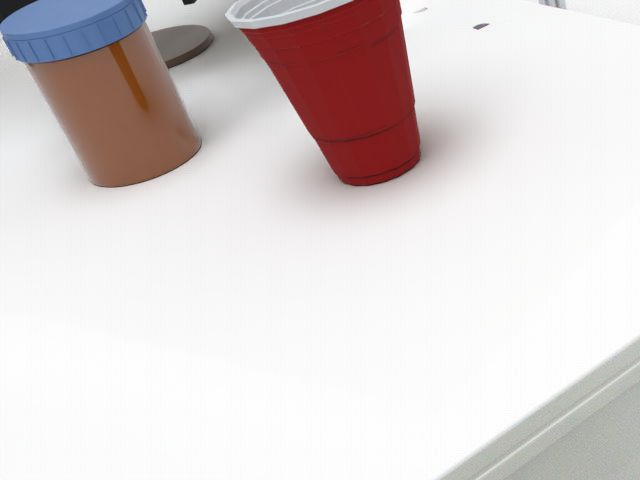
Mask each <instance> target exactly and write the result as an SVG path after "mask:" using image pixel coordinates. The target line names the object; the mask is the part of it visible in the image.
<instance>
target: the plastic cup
mask: <svg viewBox="0 0 640 480" xmlns="http://www.w3.org/2000/svg"><path fill="white" fill-rule="evenodd" d="M402 14H403V10H402V5H401V0H237V1H235V2H234V3H232V4H231V5H230V7H229V8H228V10H227V11H226V12H225V13H224V16H225V18H226V19H227V20H228V22H229V23H230V24H231V25H232V26H233V27H234V28H235V29H239V31H241V33H242V34H244V36H245V37H246V39H247V40H248V42H249V43H251V45H252V46H253V47H254V48H255V49H256V51H257V53H258V55H259V56H260V57H261V58H262V60H263V61H264V62H265V63H266V65H267V66H268V68H269V69H270V72H271V73H272V75H273V76H274V78H275V79H276V81H277V83H278V84H279V86H280V87H281V88H280V89H282V91H283V92H284V94H285V96H286V97H287V99H288V101H289V102H290V104H291V106H292V107H293V109H294V111H295V112H296V114H297V116H298V117H299V119H300V120H301V122H302V124H303V126H304V127H305V129H306V130H307V132H308V134H309V135H310V136H311V137H312V139H313V140H314V141H315V143H316V145H317V146H318V148H319V150H320V152H321V153H322V155H323V156H324V159H325V160H326V162H327V164H328V166H329V167H330V169H331V170H332V172H334V173H335V175H336V176H337V177H338V179H339V180H340V181H341V183H344V184H347V185H350V186H368V185H374V184H375V185H376V184H379V183H384V182H386V181H389V180H392V179H393V178H394V179H395V178H397V177H399V176H401V175H403V174H404V173H406V172H408V171H409V170H411V169H412V168H413V167H414V166H415V165H416V164H417V163H418V162H419V161H420V159H421V137H420V130H419V125H418V124H419V123H418V119H417V112H416V106H415V105H416V97H415V91H414V85H413V78H412V73H411V72H412V71H411V66H410V59H409V54H408V49H407V43H406V37H405V31H404V24H403V18H402Z"/></svg>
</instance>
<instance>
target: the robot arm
mask: <svg viewBox="0 0 640 480" xmlns="http://www.w3.org/2000/svg"><path fill="white" fill-rule="evenodd" d="M36 1H38V0H0V24H1V23H2V22H3V21H4V20H5V19H6V18H7V17H8V16H10V15H11V14H13V13H14V12H16V11H18V10H19V9H21V8H23V7H25V6H27V5H29V4H31V3H34V2H36ZM197 1H198V0H181V2H182V4H183V6H188V5H193V4H195V3H196V2H197Z"/></svg>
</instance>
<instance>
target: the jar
mask: <svg viewBox="0 0 640 480" xmlns="http://www.w3.org/2000/svg"><path fill="white" fill-rule="evenodd" d="M151 32H152V31H151V29H150V28H149V26H148V23H147V20H145V22H144V23H143V24H142V25H141V26H140V27H139V28H137V29H136V30H135V31H133V32H132V33H130V34H129V35H127V36H125V37H123V38H121V39H119V40H117V41H115V42H113V43H111V44H109V45H106V46H104V47H101V48H99V49H96V50H93V51H91V52H87V53H84V54H81V55H78V56H74V57H70V58H66V59H62V60H57V61H51V62H43V63H24V62H22V63H23V64H24V66H25V68H26V70H27V71H28V73H29V75H30V77H31V79H32V80H33V83H34V84H35V86H36V88H37V89H38V91H39V93H40V95H41V97H42V98H43V101H44V102H45V104H46V106H47V108H48V110H49V111H50V113H51V115H52V116H53V118H54V120H55V122H56V123H57V126H58V127H59V129H60V131H61V133H62V134H63V136H64V138H65V140H66V142H67V143H68V145H69V147H70V149H71V150H72V152H73V155H74V156H75V158H76V159H77V161H78V163H79V165H80V166H81V168H82V171H83V172H84V173H85V175H86V177H87V179H88V180H89V182H90V183H91V184H93V185H95V186H98V187H104V188H116V187H125V186H131V185H134V184H139V183H142V182H145V181H149V180H151V179H154V178H158V177H159V176H162V175H164V174H167V173H169V172H170V171H173V170H175V169H176V168H178V167H180V166H181V165H184V164H185V163H186V162H187V161H189V160H190V159H191V158H193V157H194V155H196V153H198V151H199V150H200V149H201V146H202V137H201V135H200V134H199V132H198V130H197V127H196V125H195V123H194V120H193V119H192V116H191V115H190V113H189V110H188V108H187V106H186V104H185V102H184V100H183V98H182V95H181V94H180V91H179V89H178V88H177V85H176V83H175V81H174V78H173V76H172V75H171V72H170V70H169V68H167V66H166V64H165V61H164V59H163V57H162V55H161V53H160V51H159V49H158V47H157V44H156V42H155V40H154V38H153V36H152V34H151Z"/></svg>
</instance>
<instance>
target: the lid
mask: <svg viewBox="0 0 640 480" xmlns="http://www.w3.org/2000/svg"><path fill="white" fill-rule="evenodd" d="M147 18H148V13H147V9H146V7H145V4H144V2H143V0H38V1H36V2H34V3H31V4H29V5H27V6H25V7H23V8H21V9H19V10H18V11H16V12H14V13H13V14H11V15H10V16H8V17H7V18H6V19H5V20H4V21H3V22H2V23H1V24H0V34H1V36H2V37H1V38H2V40H3V42H4V44H5V46H6V47H7V49H8V51H9V53H10V54H11V56H12V57H14V59H15V60H16V61H19V62H20V63H23V62H24V63H43V62H51V61H57V60H62V59H66V58H70V57H74V56H78V55H81V54H84V53H87V52H91V51H93V50H96V49H99V48H101V47H104V46H106V45H109V44H111V43H113V42H115V41H117V40H119V39H121V38H123V37H125V36H127V35H129V34H130V33H132V32H133V31H135V30H136V29H137V28H139V27H140V26H141V25H142V24H143V23H144V22H145V21H147ZM24 63H23V64H24Z"/></svg>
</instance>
